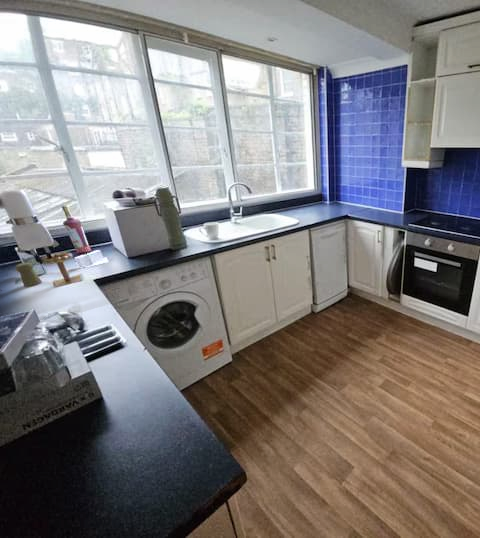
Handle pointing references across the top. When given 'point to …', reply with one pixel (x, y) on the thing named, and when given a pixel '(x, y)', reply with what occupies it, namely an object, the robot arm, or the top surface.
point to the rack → (66, 276)
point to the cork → (28, 274)
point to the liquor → (75, 232)
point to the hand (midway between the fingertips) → (45, 262)
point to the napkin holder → (91, 259)
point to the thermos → (170, 218)
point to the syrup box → (32, 262)
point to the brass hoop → (57, 258)
